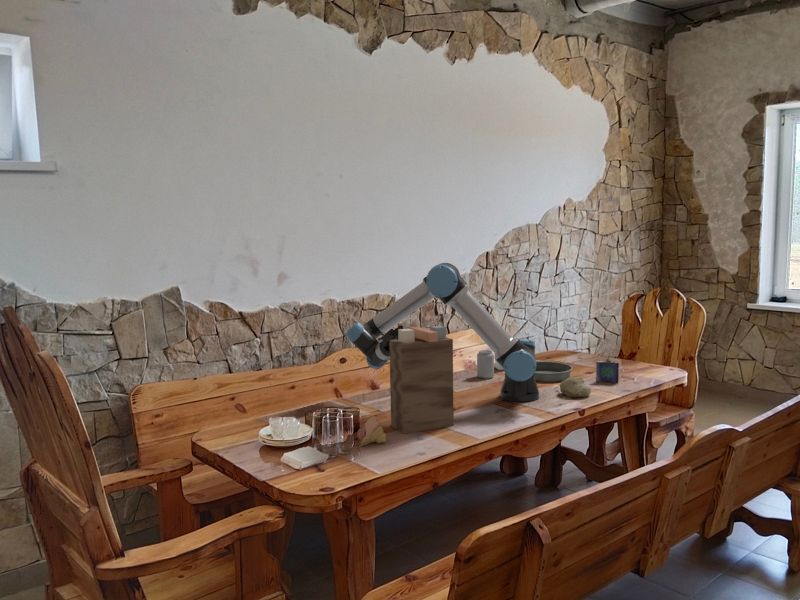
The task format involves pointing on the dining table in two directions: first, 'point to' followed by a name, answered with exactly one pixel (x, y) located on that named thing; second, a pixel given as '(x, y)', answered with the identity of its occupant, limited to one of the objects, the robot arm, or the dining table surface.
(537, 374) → the cake pan
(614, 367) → the dark small block
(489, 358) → the can
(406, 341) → the cream cube
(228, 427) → the dining table surface
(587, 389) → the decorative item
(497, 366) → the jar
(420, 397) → the walnut stand
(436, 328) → the slate cube
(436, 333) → the terracotta stick
